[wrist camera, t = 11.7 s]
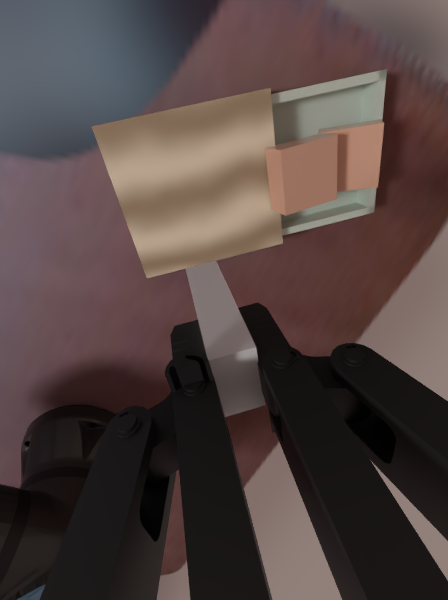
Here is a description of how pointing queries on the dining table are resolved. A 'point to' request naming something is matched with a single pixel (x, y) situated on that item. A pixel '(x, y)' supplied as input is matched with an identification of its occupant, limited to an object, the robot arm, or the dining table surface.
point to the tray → (324, 114)
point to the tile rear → (358, 154)
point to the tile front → (302, 173)
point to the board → (194, 180)
